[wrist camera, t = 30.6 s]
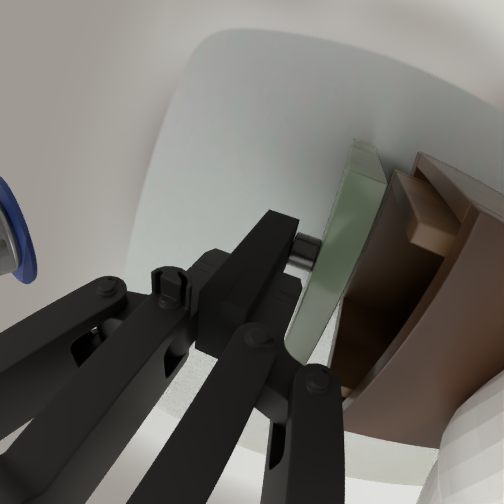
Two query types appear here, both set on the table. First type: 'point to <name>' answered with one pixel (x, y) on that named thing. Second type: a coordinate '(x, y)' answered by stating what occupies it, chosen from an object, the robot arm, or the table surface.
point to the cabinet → (441, 325)
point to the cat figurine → (471, 452)
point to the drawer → (368, 264)
